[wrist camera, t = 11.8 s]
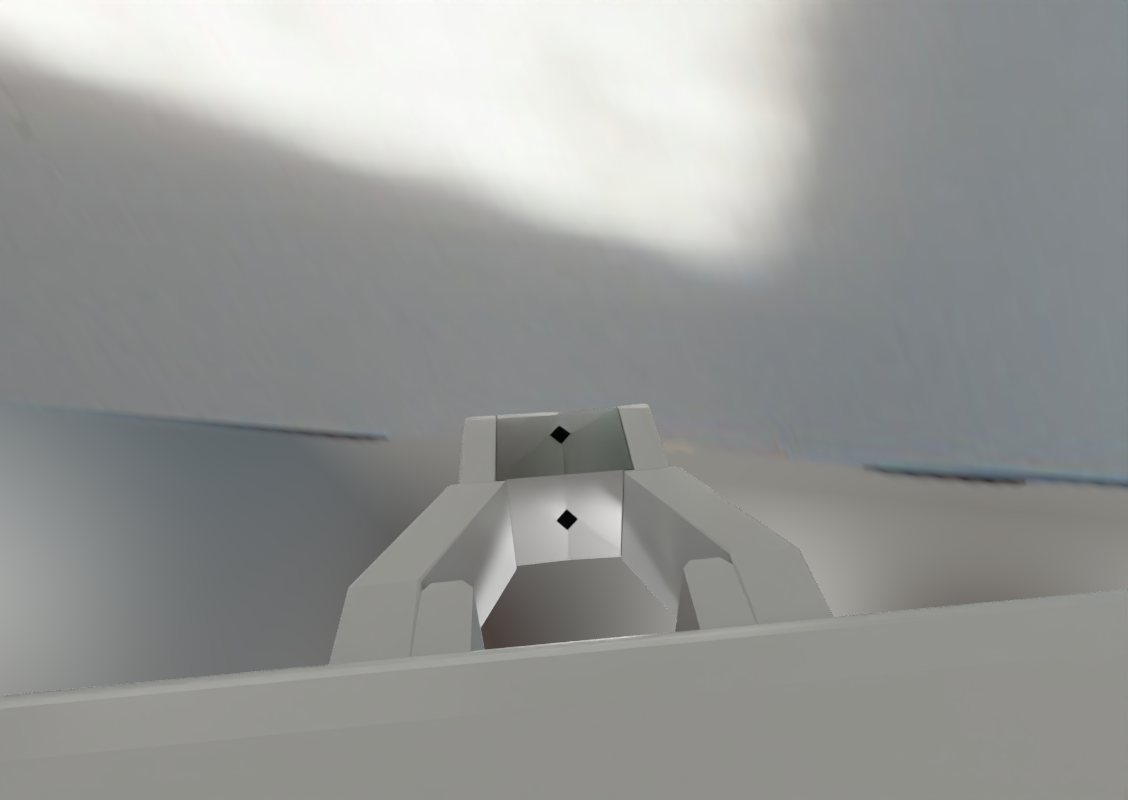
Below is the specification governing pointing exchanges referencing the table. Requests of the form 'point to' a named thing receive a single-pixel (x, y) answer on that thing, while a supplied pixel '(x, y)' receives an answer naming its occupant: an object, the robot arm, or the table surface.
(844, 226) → the table surface
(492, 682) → the robot arm
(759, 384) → the table surface
